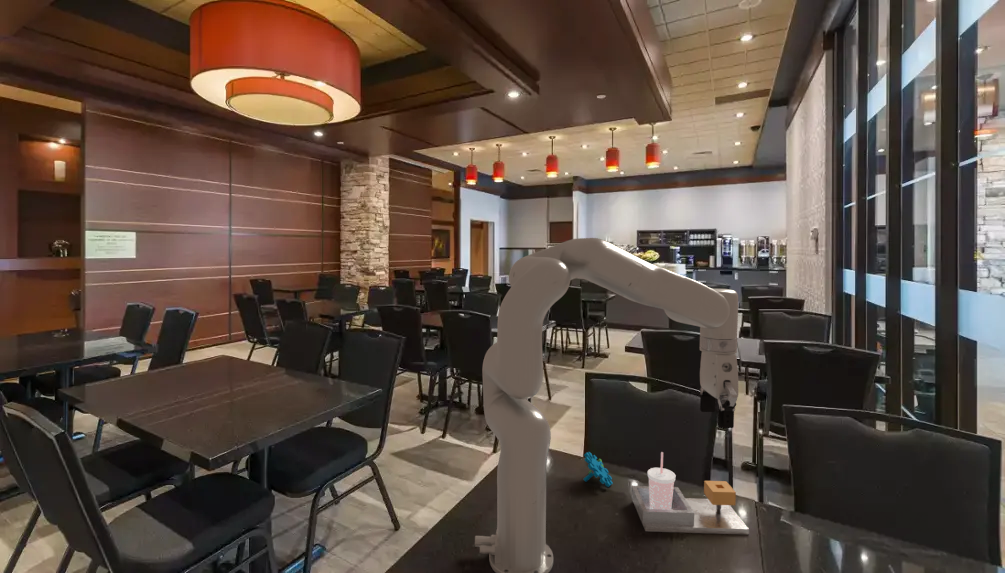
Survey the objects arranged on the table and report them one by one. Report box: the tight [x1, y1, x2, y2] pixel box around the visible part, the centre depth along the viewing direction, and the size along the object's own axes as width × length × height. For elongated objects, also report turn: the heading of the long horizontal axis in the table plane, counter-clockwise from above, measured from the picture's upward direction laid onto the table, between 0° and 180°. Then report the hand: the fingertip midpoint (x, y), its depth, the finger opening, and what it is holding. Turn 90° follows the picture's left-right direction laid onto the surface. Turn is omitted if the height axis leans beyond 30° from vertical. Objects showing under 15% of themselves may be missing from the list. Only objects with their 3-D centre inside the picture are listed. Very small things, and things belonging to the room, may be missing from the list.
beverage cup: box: [646, 451, 677, 510], centre depth 106 cm, size 6×6×14 cm
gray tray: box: [630, 485, 750, 535], centre depth 107 cm, size 22×12×4 cm, turn 87°
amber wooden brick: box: [703, 480, 737, 506], centre depth 106 cm, size 5×5×3 cm
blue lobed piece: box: [583, 451, 614, 488], centre depth 123 cm, size 11×6×10 cm
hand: (715, 419), depth 105 cm, fingers open, 9 cm apart
